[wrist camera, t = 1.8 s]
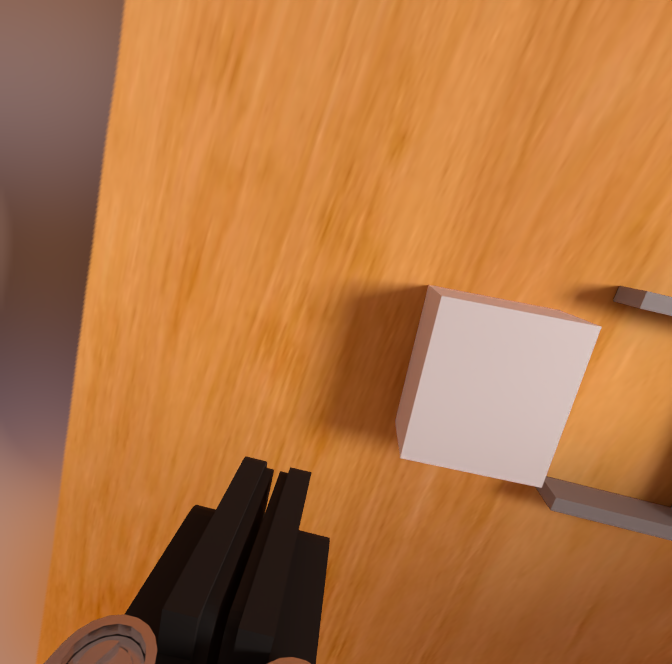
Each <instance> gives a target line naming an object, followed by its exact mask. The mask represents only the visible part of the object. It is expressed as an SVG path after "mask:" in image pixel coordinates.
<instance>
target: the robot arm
mask: <svg viewBox="0 0 672 664" xmlns="http://www.w3.org/2000/svg"><path fill="white" fill-rule="evenodd" d="M273 472H274V470H273V469H269V468H267V461H262V460H258V459H254V458H250V457H245V458H244V459H243V461H242V463H241V465H240V467H239V469H238V470H237V472H236V474H235V476H234V478H233V480H232V481H231V483H230V485H229V487H228V489H227V491H226V493H225V494H224V496H223V498H222V500H221V502H220V504H219V505H218V507H217V509H216V510H215V509H211V508H207V507H203V506H199V505H195V506H194V507H193V508H192V509H191V511H190V512H189V514H188V515H187V517H186V518H185V520H184V521H183V523H182V525H181V526H180V528H179V529H178V531H177V532H176V534H175V536H174V537H173V539H172V540H171V542H170V544H169V545H168V547H167V548H166V550H165V551H164V553H163V555H162V556H161V558H160V559H159V561H158V562H157V564H156V566H155V567H154V569H153V570H152V572H151V573H150V575H149V577H148V578H147V580H146V581H145V583H144V585H143V586H142V588H141V589H140V591H139V592H138V594H137V596H136V597H135V599H134V600H133V602H132V603H131V605H130V607H129V608H128V610H127V611H126V613H125V615H111V616H107V617H104V618H101V619H98V620H94V621H92V622H90V623H89V624H87V625H85V626H84V627H82V628H80V629H78V630H77V631H76V632H75V633H73V634H72V635H71V636H70V637H69V638H68V639H67V640H66V641H65V642H63V643H62V644H61V645H60V647H59V648H58V649H57V650H56V651H55V652H54V653H53V654H52V655H51V656H50V658H49V659H48V660H47V661H46V662H45V663H44V664H316V656H317V647H318V639H319V630H320V621H321V613H322V604H323V595H324V587H325V578H326V569H327V561H328V552H329V542H330V538H328V537H324V536H320V535H316V534H312V533H308V532H304V531H300V530H299V525H300V521H301V517H302V512H303V508H304V503H305V499H306V494H307V490H308V486H309V481H310V477H311V472H307V471H303V470H299V469H295V468H291V467H290V470H289V473H285V472H281V471H280V473H279V476H278V479H277V482H276V484H275V487H274V490H273V493H272V496H271V498H270V501H269V504H268V507H267V509H266V506H267V501H268V496H269V492H270V487H271V482H272V477H273ZM265 510H266V512H265Z"/></svg>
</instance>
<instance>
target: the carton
mask: <svg viewBox="0 0 672 664" xmlns="http://www.w3.org/2000/svg"><path fill="white" fill-rule="evenodd" d="M600 330H601V326H598V325H596V324H593V323H590V322H588V321H585V320H583V319H580V318H578V317H575V316H573V315H570V314H568V313H565V312H562V311H560V310H556V309H551V308H546V307H540V306H535V305H530V304H525V303H520V302H515V301H509V300H504V299H499V298H494V297H489V296H483V295H478V294H473V293H468V292H463V291H458V290H452V289H447V288H442V287H437V286H432V285H428V289H427V293H426V298H425V302H424V306H423V310H422V314H421V318H420V322H419V326H418V330H417V334H416V338H415V342H414V346H413V350H412V355H411V359H410V363H409V367H408V371H407V375H406V379H405V383H404V387H403V391H402V395H401V399H400V403H399V407H398V411H397V416H396V420H395V424H396V432H397V439H398V446H399V453H400V458H402V459H407V460H412V461H417V462H421V463H426V464H431V465H436V466H440V467H445V468H450V469H455V470H459V471H464V472H469V473H473V474H478V475H483V476H488V477H492V478H497V479H502V480H507V481H511V482H516V483H521V484H526V485H530V486H535V487H540V488H542V486H543V483H544V480H545V477H546V475H547V472H548V469H549V467H550V464H551V461H552V459H553V456H554V453H555V451H556V448H557V445H558V442H559V440H560V437H561V434H562V432H563V429H564V426H565V424H566V421H567V418H568V416H569V413H570V410H571V408H572V405H573V402H574V399H575V397H576V394H577V391H578V389H579V386H580V383H581V381H582V378H583V375H584V373H585V370H586V367H587V364H588V362H589V359H590V356H591V354H592V351H593V348H594V346H595V343H596V340H597V338H598V335H599V332H600Z"/></svg>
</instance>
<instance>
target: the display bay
mask: <svg viewBox="0 0 672 664" xmlns="http://www.w3.org/2000/svg"><path fill="white" fill-rule="evenodd" d="M613 301H614V302H618V303H622V304H625V305H629V306H633V307H637V308H640V309H645V310H649V311H653V312H657V313H661V314H666V315H670V316H672V297H669V296H665V295H660V294H656V293H652V292H648V291H643V290H638V289H633V288H628V287H623V286H619V288H618V290H617V293H616V295H615V298H614V300H613ZM536 489H537V490H538V492H539V493H540V495H541V496H542V498H543V499H544V501H545V502H546V504H547V505H548V507H549V509H550V510H552V511H556V512H560V513H564V514H568V515H572V516H576V517H580V518H584V519H588V520H592V521H596V522H600V523H604V524H608V525H612V526H616V527H620V528H624V529H628V530H632V531H636V532H640V533H644V534H647V535H651V536H655V537H659V538H663V539H667V540H671V541H672V506H671V507H667V506H663V505H659V504H655V503H651V502H647V501H643V500H639V499H635V498H631V497H627V496H623V495H619V494H615V493H611V492H607V491H603V490H599V489H595V488H591V487H587V486H583V485H579V484H575V483H571V482H567V481H563V480H559V479H555V478H551V477H547V476H546V477H545V480H544V483H543V486H542V488H540V487H536Z"/></svg>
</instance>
